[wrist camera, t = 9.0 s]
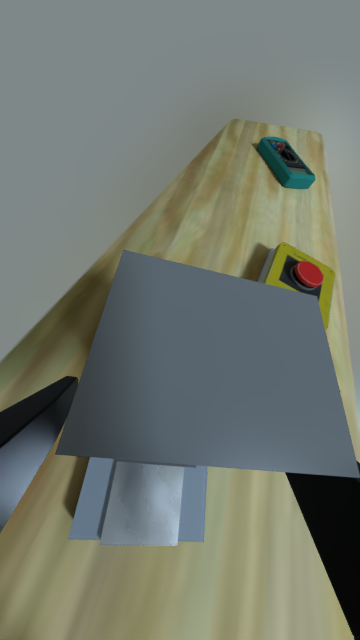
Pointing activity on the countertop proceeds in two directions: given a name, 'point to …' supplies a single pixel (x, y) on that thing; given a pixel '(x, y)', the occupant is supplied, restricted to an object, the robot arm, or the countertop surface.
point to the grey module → (209, 376)
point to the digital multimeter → (285, 163)
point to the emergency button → (299, 275)
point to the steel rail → (144, 505)
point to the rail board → (98, 494)
